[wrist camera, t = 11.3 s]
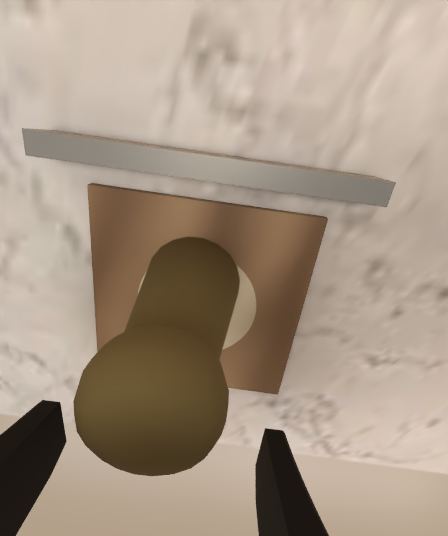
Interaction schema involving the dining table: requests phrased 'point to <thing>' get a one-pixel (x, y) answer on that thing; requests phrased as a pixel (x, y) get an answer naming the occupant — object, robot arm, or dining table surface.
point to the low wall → (207, 167)
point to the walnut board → (234, 243)
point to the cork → (164, 366)
